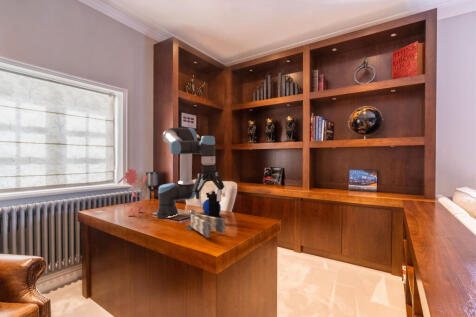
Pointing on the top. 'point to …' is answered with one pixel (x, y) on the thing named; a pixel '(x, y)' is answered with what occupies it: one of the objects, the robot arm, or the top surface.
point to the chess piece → (213, 205)
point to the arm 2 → (214, 222)
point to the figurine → (131, 178)
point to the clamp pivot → (190, 225)
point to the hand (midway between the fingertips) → (209, 202)
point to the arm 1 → (200, 225)
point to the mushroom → (206, 207)
